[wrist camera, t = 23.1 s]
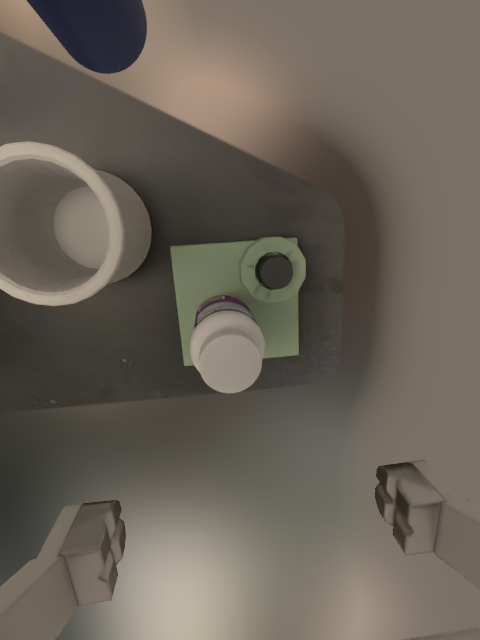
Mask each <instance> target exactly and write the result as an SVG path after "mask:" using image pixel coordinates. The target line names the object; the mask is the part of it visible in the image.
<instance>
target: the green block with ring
mask: <svg viewBox="0 0 480 640" xmlns="http://www.w3.org/2000/svg"><path fill="white" fill-rule="evenodd" d="M170 252H171V260H172V268H173V277H174V285H175V293H176V302H177V310H178V318H179V326H180V335H181V343H182V351H183V359H184V366H191V365H194V364H193V361H192V359H191V355H190V340H191V333H192V326H193V320H194V315H195V313H196V310H197V309H198V307H199V306H200V304H201V303H202V302H203V301H205V300H206V299H208V298H209V297H212V296H214V295H219V294H228V295H232V296H235V297H237V298H239V299H240V300H242V301H243V302H244V303H245V304H246V305H247V306H248V308H249V309H250V311H251V313H252V315H253V317H254V319H255V321H256V322H257V324H258V326H259V328H260V329H261V332H262V334H263V337H264V341H265V351H264V356H263V358H274V357H284V356H294V355H299V326H298V291H299V289H300V287H301V285H302V283H303V281H304V279H305V277H306V260H305V258H304V256H303V254H302V253H301V251H300V249H299V248H298V245H297V238H283V237H279V236H274V237H261V238H259V239H258V240H249V241H235V242H220V243H206V244H191V245H177V246H171V247H170ZM270 255H277V256H280V257H283V258H285V259H287V260H288V261H289V262H290V264H291V265H292V268H293V277H292V279H291V281H290V283H289V284H288V285H287V286H286V287H284V288H281V289H271V288H269V287H267V286H266V285H265V284H264V283H263V282H262V281H261V280H260V278H259V275H258V267H259V264H260V262H261V261H262V260H263V259H264V258H265V257H267V256H270Z"/></svg>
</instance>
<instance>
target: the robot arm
mask: <svg viewBox="0 0 480 640" xmlns="http://www.w3.org/2000/svg"><path fill="white" fill-rule="evenodd" d="M376 476H377V478H378V480H379V481H380V483H379V484H378V485H377V486H376V488H375V498H376V503H377V506H378V509H379V512H380V514H381V515H382V517H383V518H384V521H386V522H387V523H389V524H390V525H392V526H393V535H394V537H395V539H396V540H397V542H398V544H399V545H400V547H401V548H402V550H403V552H404V553H405V555H415V554H423V553H432V552H434V554H435V555H436V556H438V557H439V558H440V559H441V560H443V561H444V562H445V563H447V564H448V565H449V566H450V567H452V568H453V569H454V570H455V571H457V572H458V573H459V574H461V575H462V576H463V577H464V578H466V579H467V580H468V581H470V582H471V583H472V584H473V585H475V586H476V587H477V588H479V589H480V504H478V503H476V502H474V501H472V500H470V499H463V498H462V497H461V496H460V495H459V494H458V493H457V492H456V491H455V490H454V489H453V488H452V487H451V486H450V485H449V483H448V482H447V481H446V480H445V479H444V478H443V477H442V476H441V475H440V474H439V473H438V472H437V471H436V470H435V469H434V468H433V467H432V466H431V465H430V464H429V463H428V462H427V461H425V460H419V461H412V462H405V463H398V464H391V465H384V466H379V467H378V469H377V473H376ZM120 513H121V506H120V503H119V501H117V500H112V501H102V502H93V503H84V504H77V505H67V506H65V507H64V508H63V509H62V510H61V512H60V514H59V516H58V518H57V520H56V522H55V524H54V526H53V528H52V530H51V531H50V533H49V535H48V537H47V539H46V541H45V543H44V545H43V547H42V549H41V551H40V553H39V555H38V557H37V559H34V560H30V561H29V562H28V563H27V564H26V565H24V566H23V567H22V568H21V569H20V570H19V571H18V572H17V573H15V574H14V575H13V576H12V577H11V578H10V579H9V580H7V581H6V582H5V583H4V584H3V585H2V586H1V587H0V640H55V639H56V638H57V637H58V635H59V634H60V633H61V631H62V630H63V629H64V627H65V626H66V625H67V623H68V622H69V621H70V619H71V618H72V616H73V615H74V614H75V613H76V611H77V610H78V606H83V605H88V604H93V603H99V602H104V601H110V600H111V599H112V595H113V591H114V587H115V584H116V580H117V576H118V573H117V568H116V565H117V563H118V562H119V561H120V560H121V559H122V556H123V552H124V548H125V538H126V536H125V535H126V534H125V525H124V521H122V520H121V519H120V518H119V516H120ZM405 640H480V626H479V627H474V628H467V629H462V630H456V631H451V632H444V633H439V634H434V635H427V636H422V637H416V638H410V639H405Z"/></svg>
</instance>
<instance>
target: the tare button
mask: <svg viewBox="0 0 480 640" xmlns="http://www.w3.org/2000/svg"><path fill="white" fill-rule="evenodd" d="M258 275H259V278H260V280H261V281H262V282H263V283H264V284H265V285H266V286H267V287H269V288H271V289H281V288H284V287H286V286H287V285H288V284H289V283H290V281H291V279H292V277H293V268H292V265H291V264H290V262H289V261H288V260H287V259H285V258H283V257H280V256H277V255H270V256H267V257H265V258H264V259H263V260H262V261H261V262H260V264H259V267H258Z"/></svg>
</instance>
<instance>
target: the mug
mask: <svg viewBox="0 0 480 640" xmlns="http://www.w3.org/2000/svg"><path fill="white" fill-rule="evenodd" d="M151 234H152V228H151V223H150V218H149V214H148V212H147V210H146V208H145V205H144V203H143V201H142V200H141V198H140V197H139V196H138V195H137V193H136V192H135V191H134V190H133V188H131V187H130V186H129V185H128V184H126V183H125V182H124V181H123V180H121V179H120V178H118V177H116V176H114V175H111V174H109V173H107V172H105V171H100V170H95V169H93V168H92V167H91V166H89V165H88V164H87V163H85V162H84V161H83V160H82V159H80V158H79V157H78V156H76V155H74V154H72V153H69V152H67V151H65V150H63V149H60V148H58V147H56V146H53V145H48V144H42V143H36V142H31V141H29V142H18V143H8V144H5V145H3V146H0V289H2V290H3V291H5V292H6V293H8V294H10V295H11V296H13V297H15V298H18V299H21V300H24V301H27V302H30V303H32V304H39V305H48V306H59V305H67V304H74V303H77V302H79V301H82V300H84V299H86V298H89V297H91V296H93V295H94V294H96V293H97V292H98V291H99V290H101V289H102V288H103V287H104V286H106V285H107V284H108V283H114V282H117V281H119V280H121V279H124V278H126V277H128V276H129V275H131V274H132V273H133V272H134V271H136V270H137V269H138V268H139V267H140V265H141V264H142V262H143V261H144V260H145V258H146V256H147V253H148V251H149V248H150V245H151Z"/></svg>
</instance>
